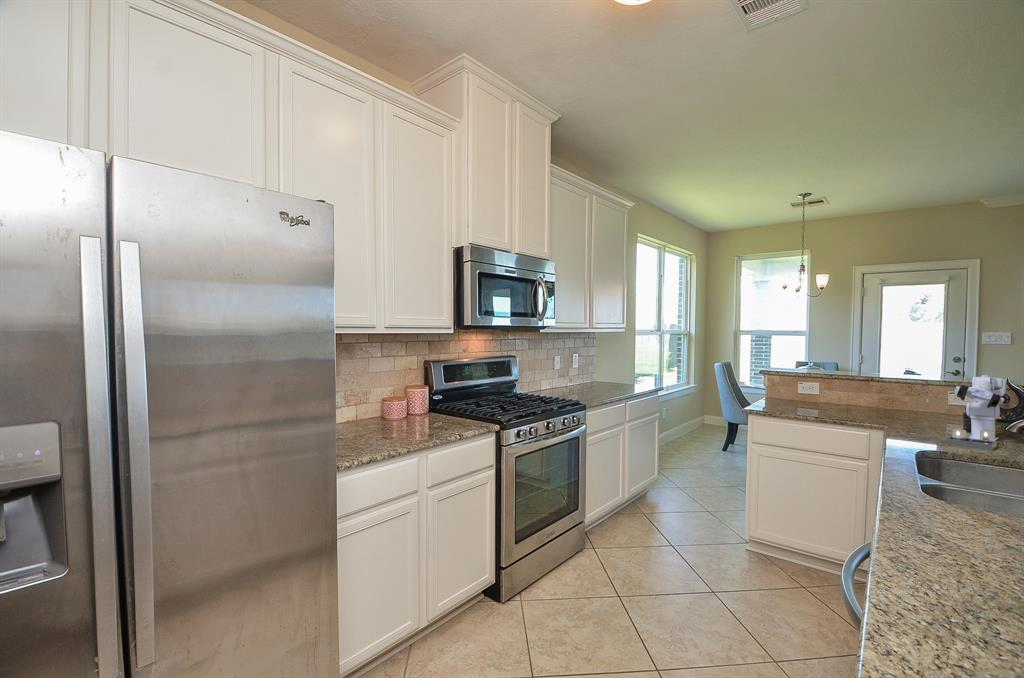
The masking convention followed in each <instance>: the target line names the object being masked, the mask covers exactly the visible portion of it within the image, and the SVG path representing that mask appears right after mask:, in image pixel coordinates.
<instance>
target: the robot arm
mask: <svg viewBox="0 0 1024 678" xmlns="http://www.w3.org/2000/svg"><path fill="white" fill-rule="evenodd" d="M1006 390H1007V380H1006V379H1005V378H1001V377H993V376H989V374H983V375H981V376H973V377H972V380H971V386H966V385H961V386H958V385H957V386H956V387H955V389H954V392H955V393H956V397H957V398H960V400H961V401H962V402H963V401H964V400H965V398H966V397H968V398H969V399H971V400H973V401H975V402H973V401H972V402H968V403H967V404H966V406H965V407H966V411H965V412H966V413H967V415H968V416H969V417H970V418H971V433H970V435H969V437H968V438H969V439H977V440H980V430H991V431H994V442H997V440H999V437H996V420H998V419H999V418H1000V414H1001V412H1000V406H999V404H1000V405H1003V402H1004V401H1005V398H1003V396H1004V395H1005V394H1006Z"/></svg>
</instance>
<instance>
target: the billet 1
mask: <svg viewBox="0 0 1024 678" xmlns="http://www.w3.org/2000/svg"><path fill="white" fill-rule="evenodd" d="M952 436H953V439H956V440H964V441H966V438H967V432H966V430H963V428H962V429H961V428H952Z"/></svg>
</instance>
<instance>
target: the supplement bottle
mask: <svg viewBox="0 0 1024 678" xmlns="http://www.w3.org/2000/svg"><path fill="white" fill-rule="evenodd" d="M966 407H967V406H965V407H964V408H965V409H964V410H965V411H964V412H963V413H962V429H963V430H966V433H968V432H969V434H971V418H970V417H969V416H968V415H967V413H966Z"/></svg>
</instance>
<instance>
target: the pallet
mask: <svg viewBox="0 0 1024 678" xmlns="http://www.w3.org/2000/svg"><path fill="white" fill-rule="evenodd" d="M945 445H950V446H955V447H956V446H957V447H963V448H972V449H979V450H985V449H986V451H993V450H995V449H996V448H997V441H994V442H993V441H985V440H979V439H971V438H969V437H966V441H964V440H956V439H953V435H952V436H949V437H946V438H945Z"/></svg>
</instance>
